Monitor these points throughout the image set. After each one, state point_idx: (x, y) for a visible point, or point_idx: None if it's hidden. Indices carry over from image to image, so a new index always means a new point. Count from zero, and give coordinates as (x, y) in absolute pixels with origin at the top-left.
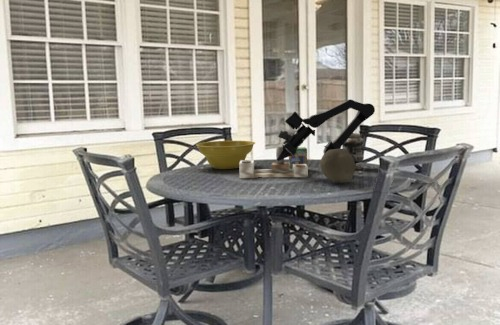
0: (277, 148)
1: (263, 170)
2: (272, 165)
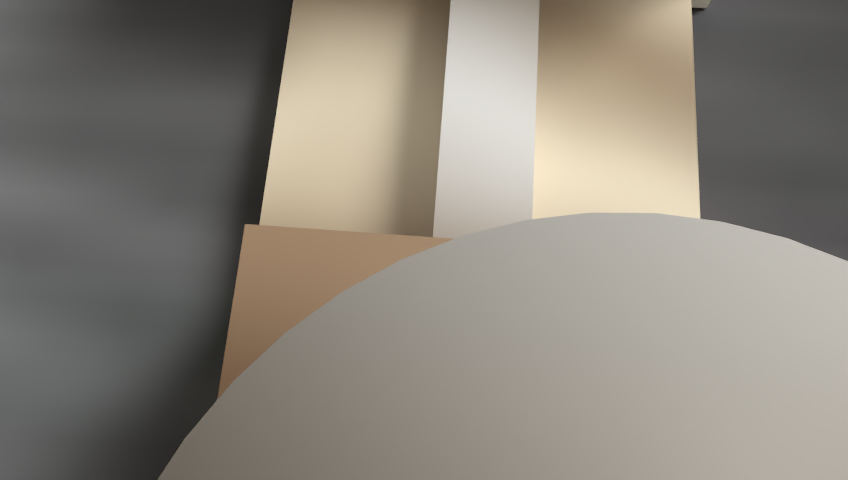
0: (305, 369)
1: (443, 97)
2: (247, 243)
